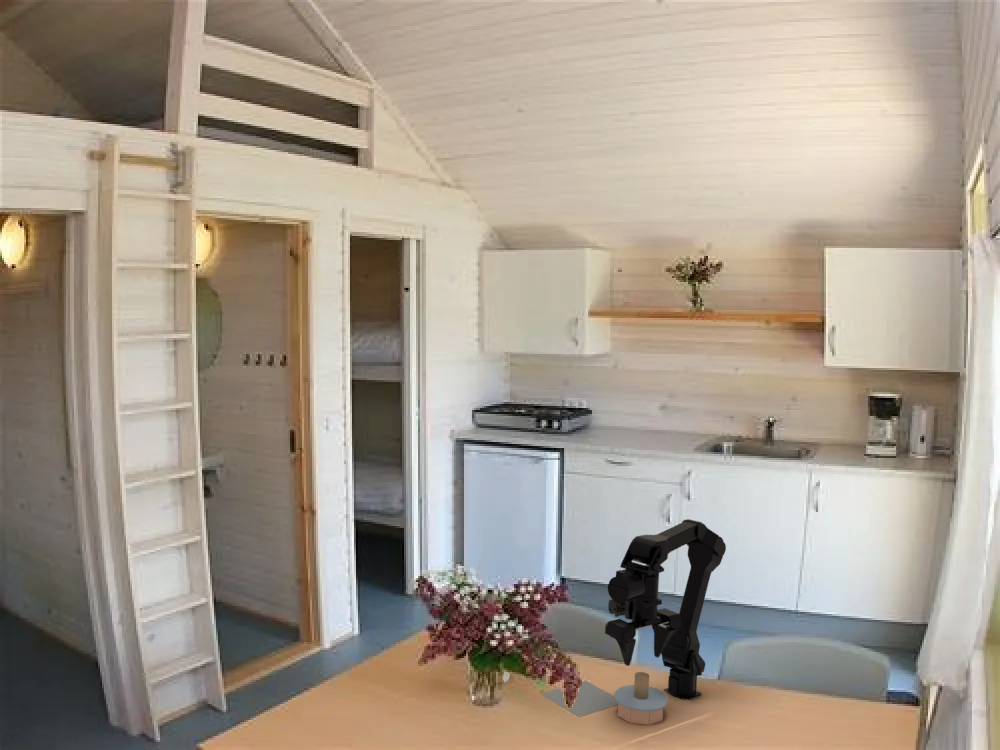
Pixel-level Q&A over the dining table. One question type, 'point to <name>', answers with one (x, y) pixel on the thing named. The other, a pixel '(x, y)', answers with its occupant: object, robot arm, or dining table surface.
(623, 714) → the bowl
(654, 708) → the lid
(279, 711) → the dining table surface
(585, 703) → the mat
